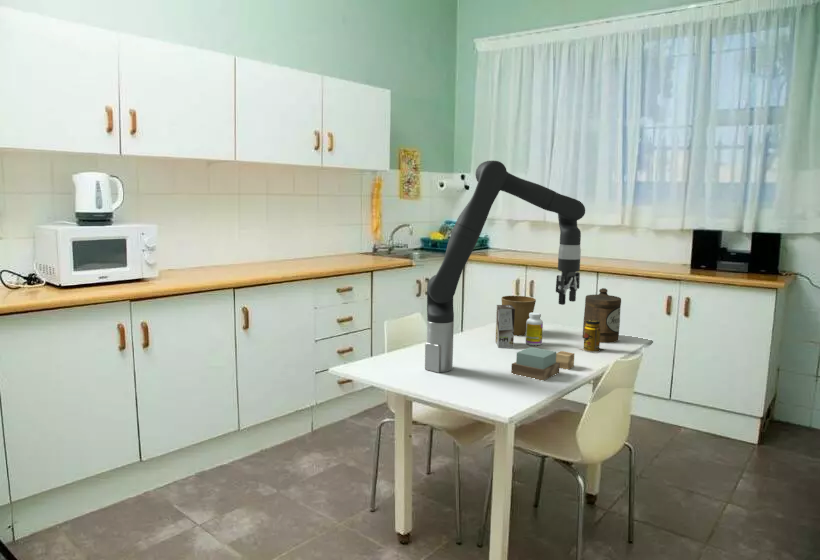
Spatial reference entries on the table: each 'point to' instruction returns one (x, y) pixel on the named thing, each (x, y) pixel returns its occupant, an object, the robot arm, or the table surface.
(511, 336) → the coffee box
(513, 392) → the table surface
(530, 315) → the supplement bottle
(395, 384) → the table surface
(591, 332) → the condiment
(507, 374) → the table surface
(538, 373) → the tower bottom slab
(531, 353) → the tower top slab
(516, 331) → the plant pot
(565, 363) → the oak block
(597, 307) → the wooden container
